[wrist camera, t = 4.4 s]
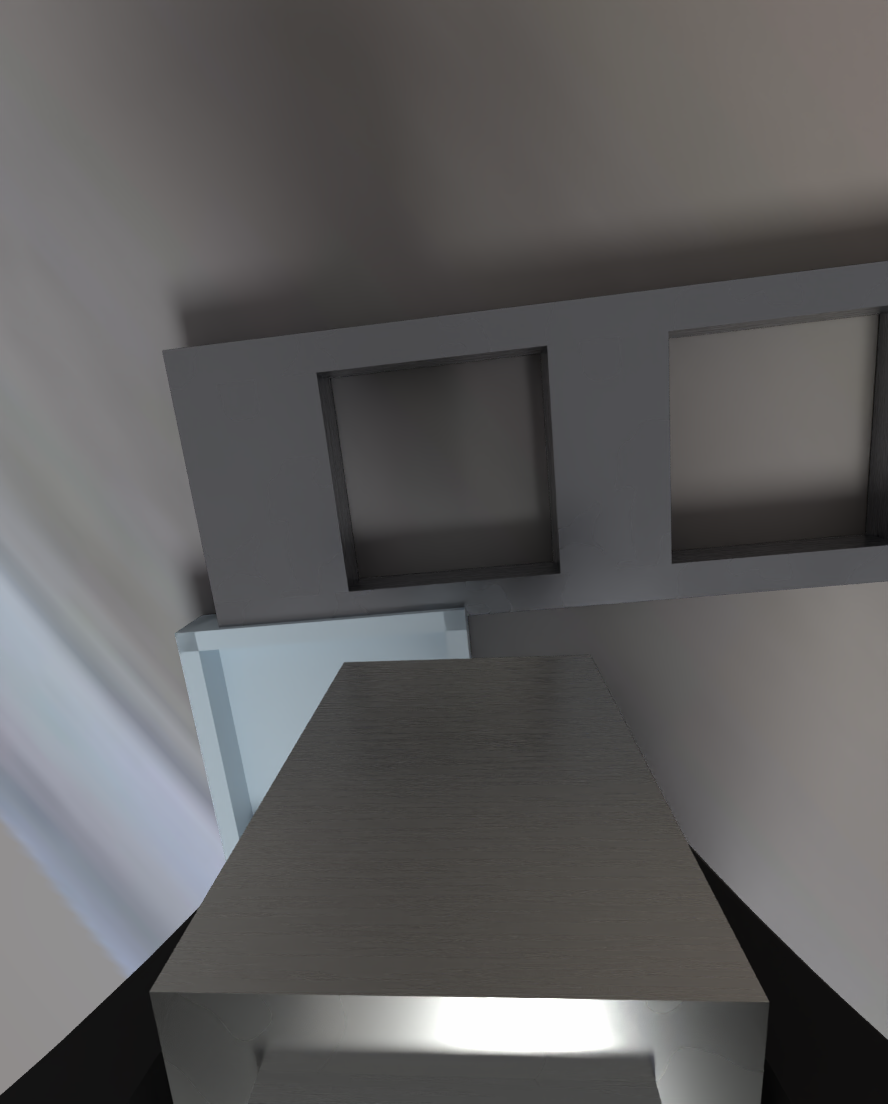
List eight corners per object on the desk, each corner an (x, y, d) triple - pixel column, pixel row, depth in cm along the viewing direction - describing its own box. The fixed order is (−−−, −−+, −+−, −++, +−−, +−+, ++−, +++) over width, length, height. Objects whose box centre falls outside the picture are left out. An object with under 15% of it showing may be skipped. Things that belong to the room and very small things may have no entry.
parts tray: (488, 829, 18) (490, 866, 17) (249, 841, 19) (229, 878, 17) (465, 593, 16) (464, 609, 15) (202, 615, 17) (174, 633, 16)
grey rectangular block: (590, 867, 10) (744, 1458, 4) (365, 868, 11) (223, 1419, 5) (590, 654, 10) (784, 1034, 3) (344, 661, 10) (131, 1020, 4)
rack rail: (1121, 546, 15) (1185, 557, 14) (240, 619, 17) (220, 635, 16) (1174, 237, 13) (1253, 215, 12) (189, 357, 15) (162, 350, 14)
